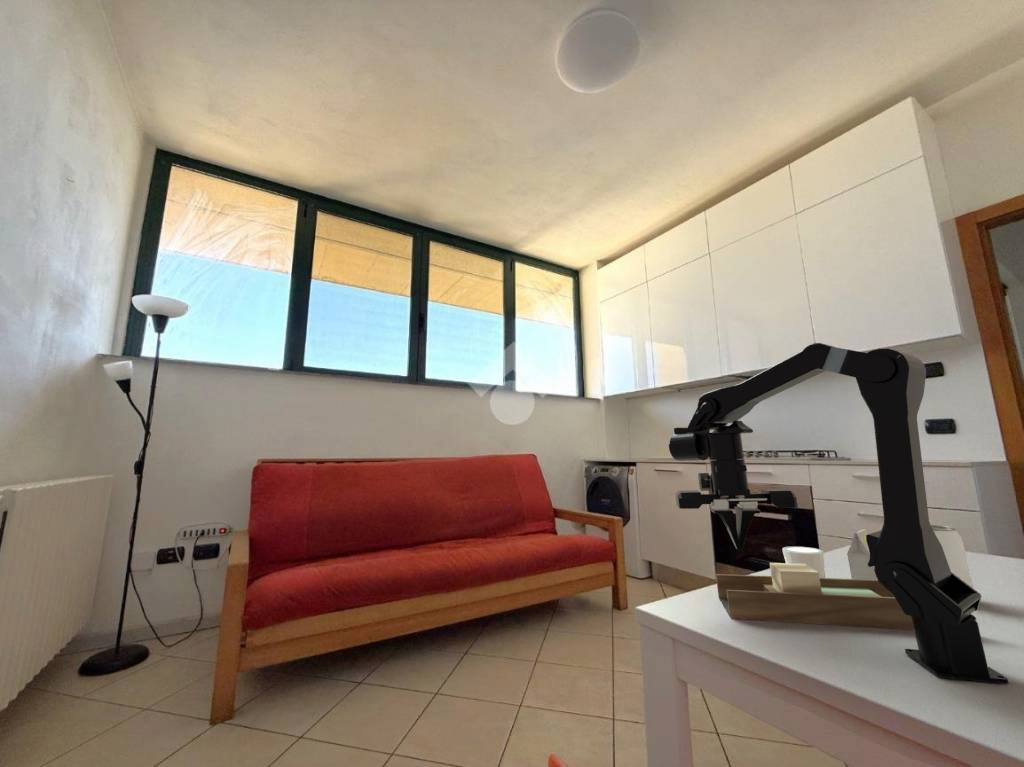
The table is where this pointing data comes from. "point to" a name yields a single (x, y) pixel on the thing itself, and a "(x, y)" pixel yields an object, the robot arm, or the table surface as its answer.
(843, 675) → the table surface
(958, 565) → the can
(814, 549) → the white cup
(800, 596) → the tray
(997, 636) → the table surface
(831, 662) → the table surface
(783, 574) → the maple block
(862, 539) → the white gable top carton
